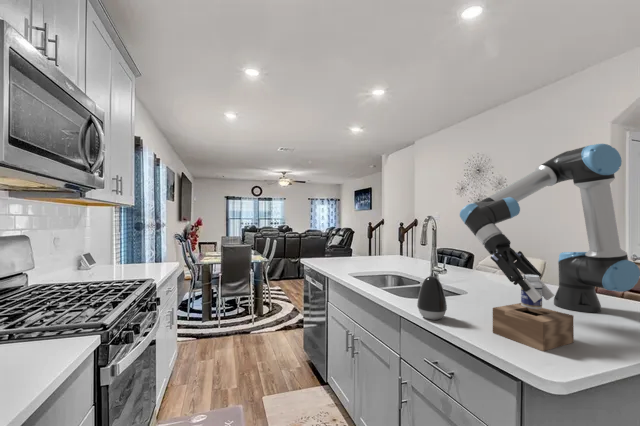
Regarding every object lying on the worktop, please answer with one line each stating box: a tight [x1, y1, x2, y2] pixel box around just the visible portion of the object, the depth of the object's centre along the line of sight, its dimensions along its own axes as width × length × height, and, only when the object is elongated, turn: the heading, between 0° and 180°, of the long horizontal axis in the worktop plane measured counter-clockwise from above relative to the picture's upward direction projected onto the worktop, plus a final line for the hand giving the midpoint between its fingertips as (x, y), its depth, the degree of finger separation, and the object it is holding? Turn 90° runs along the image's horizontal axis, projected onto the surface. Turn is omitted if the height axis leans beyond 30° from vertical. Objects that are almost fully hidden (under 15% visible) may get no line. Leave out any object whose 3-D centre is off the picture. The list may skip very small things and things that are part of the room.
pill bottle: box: [520, 274, 543, 309], centre depth 96 cm, size 5×5×10 cm
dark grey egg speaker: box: [416, 275, 448, 321], centre depth 114 cm, size 10×10×15 cm
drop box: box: [492, 302, 575, 352], centre depth 96 cm, size 15×15×8 cm
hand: (544, 298), depth 92 cm, fingers closed on pill bottle, 5 cm apart
